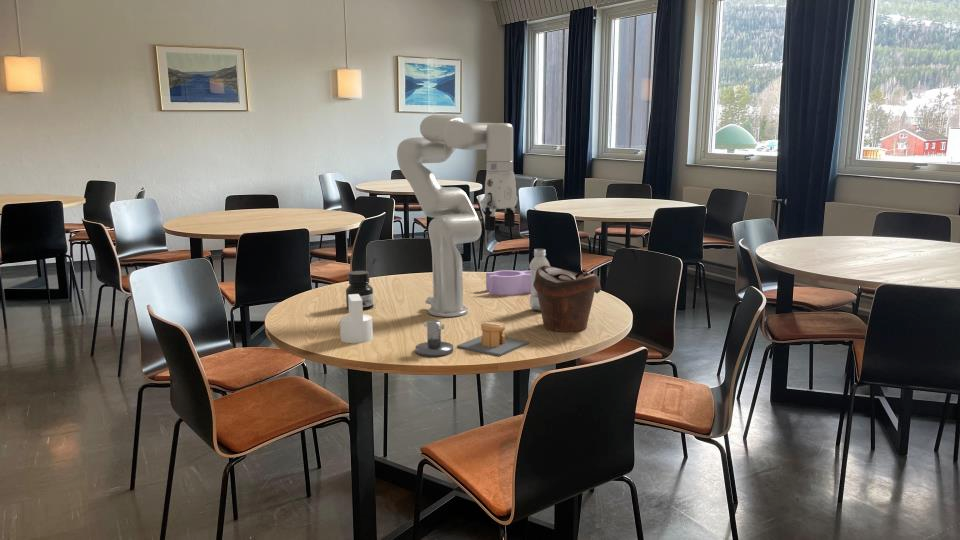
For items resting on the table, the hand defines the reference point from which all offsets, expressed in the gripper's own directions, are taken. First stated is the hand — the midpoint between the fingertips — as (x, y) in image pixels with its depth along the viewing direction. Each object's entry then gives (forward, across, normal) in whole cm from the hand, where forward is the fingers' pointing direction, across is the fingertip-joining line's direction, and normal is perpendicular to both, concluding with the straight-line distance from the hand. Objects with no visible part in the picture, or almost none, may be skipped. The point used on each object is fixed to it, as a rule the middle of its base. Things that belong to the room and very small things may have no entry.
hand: (499, 228), depth 202 cm
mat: (+30, -14, -7) cm, 34 cm away
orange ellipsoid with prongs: (+29, -14, -7) cm, 33 cm away
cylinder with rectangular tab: (+31, -30, +29) cm, 52 cm away
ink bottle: (+31, -3, +55) cm, 63 cm away
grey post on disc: (+30, -27, +3) cm, 40 cm away
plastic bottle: (+30, +27, +3) cm, 41 cm away
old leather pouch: (+30, +14, -14) cm, 36 cm away
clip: (+31, +47, +26) cm, 61 cm away
